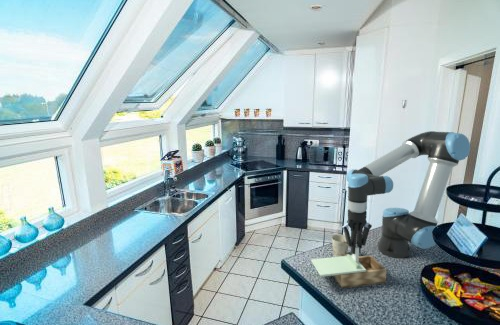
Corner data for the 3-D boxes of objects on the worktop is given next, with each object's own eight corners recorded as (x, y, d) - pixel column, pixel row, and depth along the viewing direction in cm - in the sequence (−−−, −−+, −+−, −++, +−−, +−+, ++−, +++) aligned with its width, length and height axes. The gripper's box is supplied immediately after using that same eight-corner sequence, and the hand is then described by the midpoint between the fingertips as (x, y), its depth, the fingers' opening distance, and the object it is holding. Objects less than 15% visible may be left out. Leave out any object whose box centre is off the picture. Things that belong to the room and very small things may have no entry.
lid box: (370, 267, 126) (370, 255, 125) (385, 283, 114) (386, 269, 113) (330, 272, 124) (330, 259, 123) (341, 288, 112) (342, 274, 111)
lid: (352, 256, 124) (352, 251, 123) (366, 271, 112) (366, 266, 112) (311, 261, 122) (311, 256, 121) (320, 276, 110) (320, 271, 110)
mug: (335, 250, 143) (335, 233, 141) (359, 257, 135) (359, 239, 133) (329, 256, 137) (329, 239, 135) (353, 264, 129) (354, 245, 127)
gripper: (366, 205, 117) (364, 254, 122) (338, 207, 116) (337, 256, 120) (376, 211, 110) (374, 262, 114) (346, 214, 109) (345, 266, 113)
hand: (355, 259), depth 117 cm, fingers closed
